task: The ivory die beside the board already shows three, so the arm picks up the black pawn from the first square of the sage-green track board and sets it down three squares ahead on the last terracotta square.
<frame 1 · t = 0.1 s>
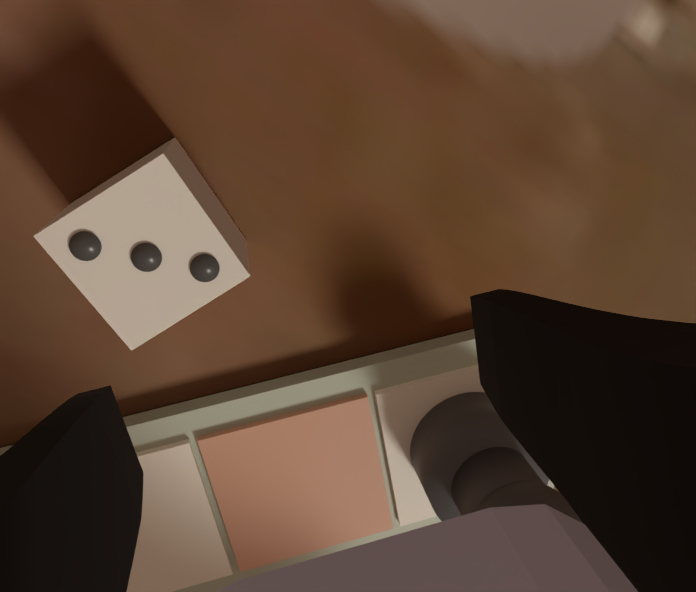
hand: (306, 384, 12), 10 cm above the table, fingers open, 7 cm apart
pawn: (465, 442, 24), point 1 cm above the table, touching board
board: (216, 492, 24), on the table
die: (160, 222, 20), on the table
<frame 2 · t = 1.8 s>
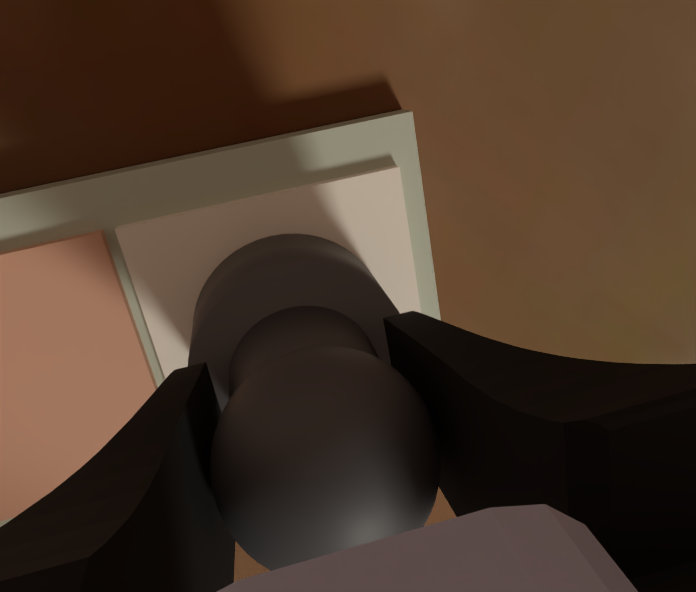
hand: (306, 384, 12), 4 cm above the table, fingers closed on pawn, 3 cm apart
pawn: (291, 326, 15), point 1 cm above the table, touching board, gripper
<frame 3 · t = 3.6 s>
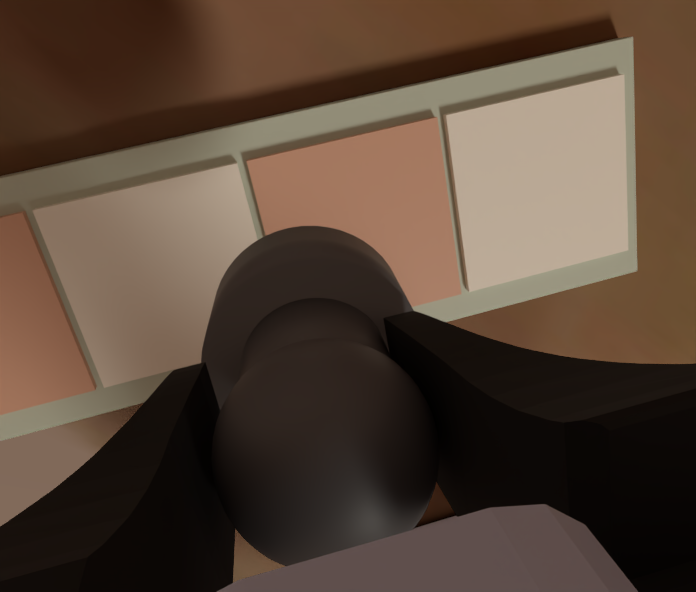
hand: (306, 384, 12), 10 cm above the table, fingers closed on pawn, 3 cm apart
pawn: (309, 317, 15), point 7 cm above the table, touching gripper
board: (264, 247, 22), on the table
when the fingers open (5 cm above the table, at t = 5.6 s): pawn drops 1 cm, resting on board.
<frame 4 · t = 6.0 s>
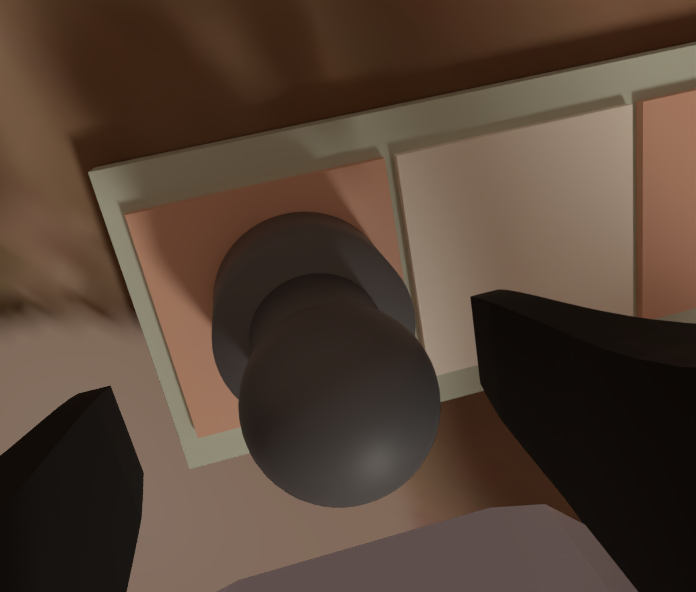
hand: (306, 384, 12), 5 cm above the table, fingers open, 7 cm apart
pawn: (303, 298, 16), point 1 cm above the table, touching board
board: (614, 212, 18), on the table
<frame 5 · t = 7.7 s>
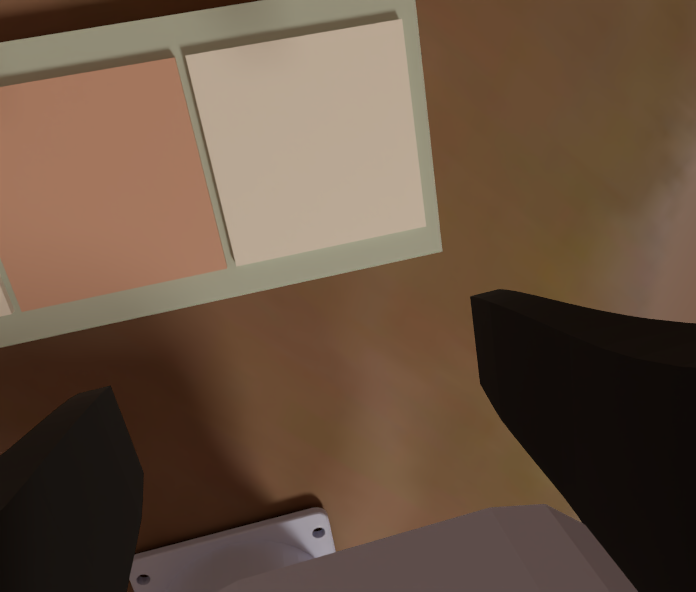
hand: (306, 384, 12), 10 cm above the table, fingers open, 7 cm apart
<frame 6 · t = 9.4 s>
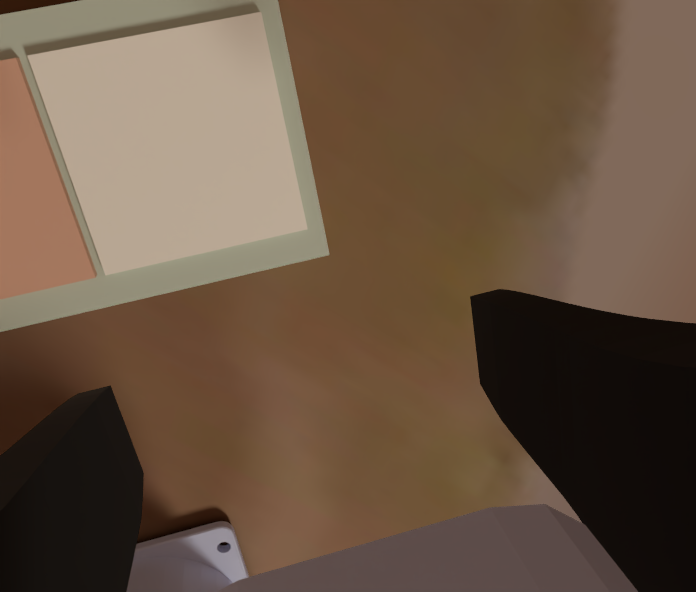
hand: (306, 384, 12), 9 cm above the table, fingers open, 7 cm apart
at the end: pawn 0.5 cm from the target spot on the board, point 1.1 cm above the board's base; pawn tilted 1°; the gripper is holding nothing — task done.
